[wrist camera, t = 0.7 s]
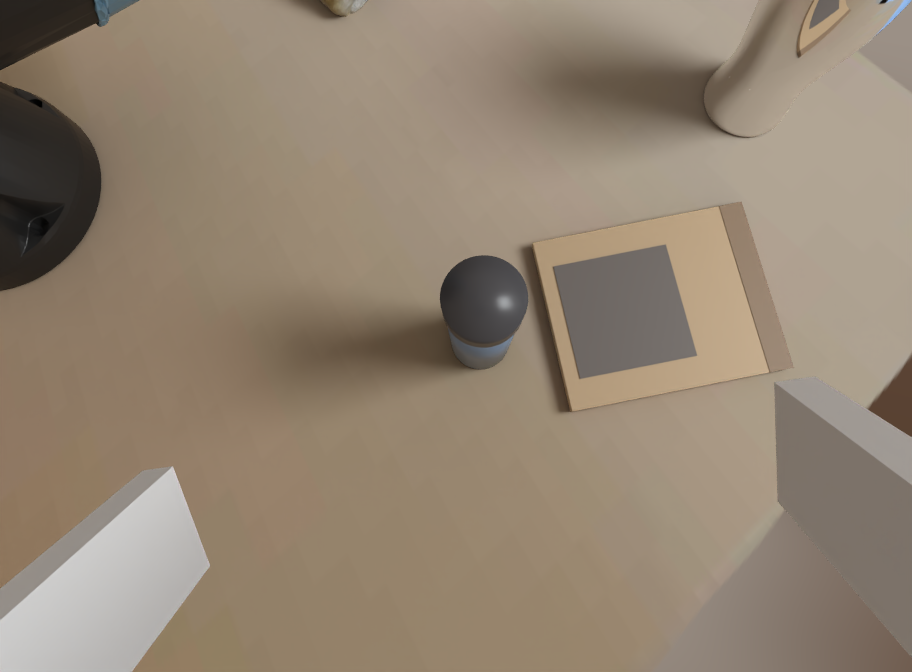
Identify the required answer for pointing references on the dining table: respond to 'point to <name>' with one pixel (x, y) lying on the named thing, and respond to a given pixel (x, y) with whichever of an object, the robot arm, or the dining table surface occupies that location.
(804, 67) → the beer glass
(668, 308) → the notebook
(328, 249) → the dining table surface
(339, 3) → the pastry
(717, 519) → the dining table surface
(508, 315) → the blue bottle
